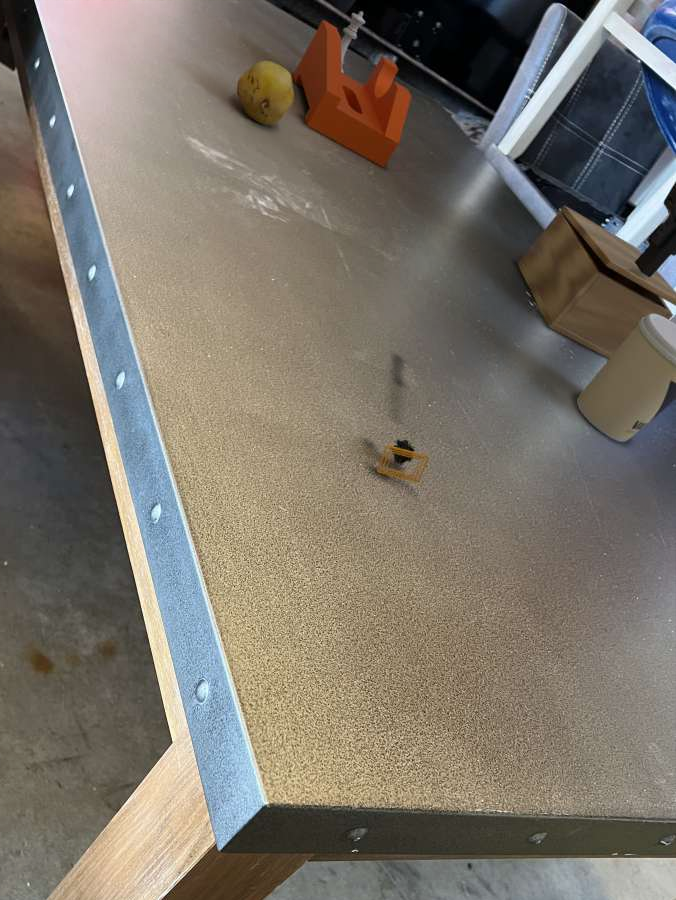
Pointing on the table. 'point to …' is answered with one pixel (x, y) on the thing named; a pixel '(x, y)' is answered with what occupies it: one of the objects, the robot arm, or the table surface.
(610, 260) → the lid
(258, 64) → the fruit
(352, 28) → the chess piece
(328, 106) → the tape dispenser
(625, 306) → the chest
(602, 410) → the coffee cup
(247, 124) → the table surface
